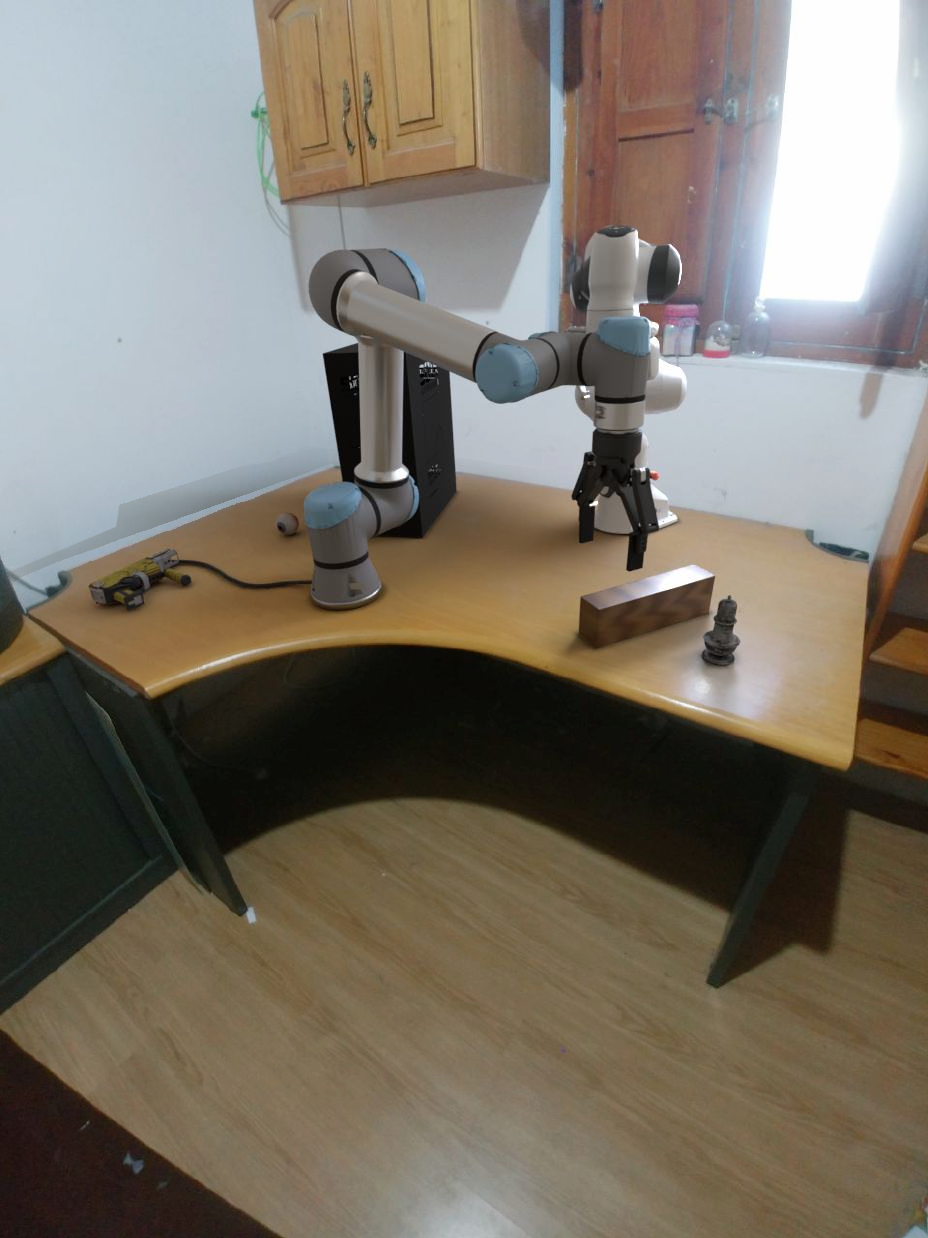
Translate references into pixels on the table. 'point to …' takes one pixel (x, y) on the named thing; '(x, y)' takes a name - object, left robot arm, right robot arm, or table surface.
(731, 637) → the dark grey tiered figure
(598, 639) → the bar
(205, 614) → the table surface
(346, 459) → the black computer tower
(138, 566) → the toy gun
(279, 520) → the eyeball
